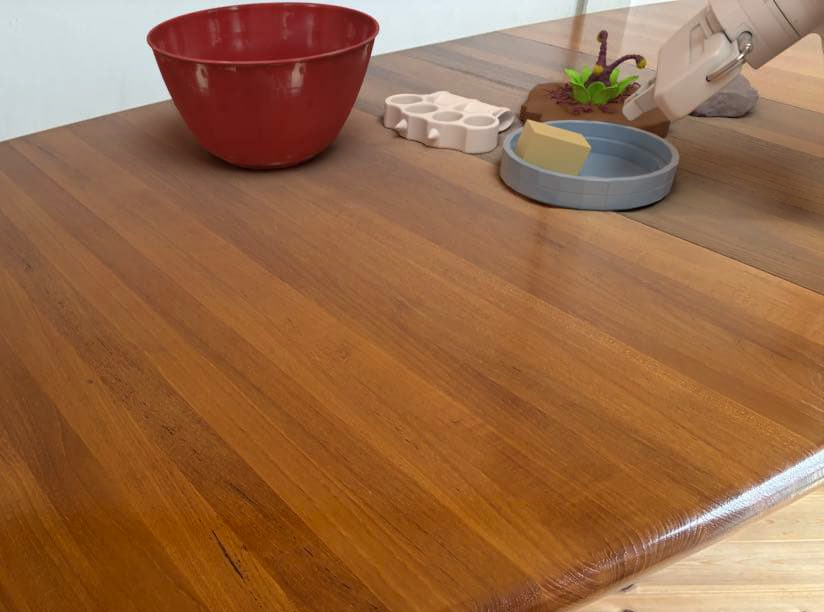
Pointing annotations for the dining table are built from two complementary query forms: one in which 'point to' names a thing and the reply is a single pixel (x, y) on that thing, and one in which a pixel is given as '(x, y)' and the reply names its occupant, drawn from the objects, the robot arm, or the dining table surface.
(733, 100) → the stone block
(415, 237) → the dining table surface
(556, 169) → the yellow block
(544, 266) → the dining table surface
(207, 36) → the mixing bowl
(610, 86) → the plant
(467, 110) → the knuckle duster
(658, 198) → the blue bowl
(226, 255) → the dining table surface
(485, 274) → the dining table surface
